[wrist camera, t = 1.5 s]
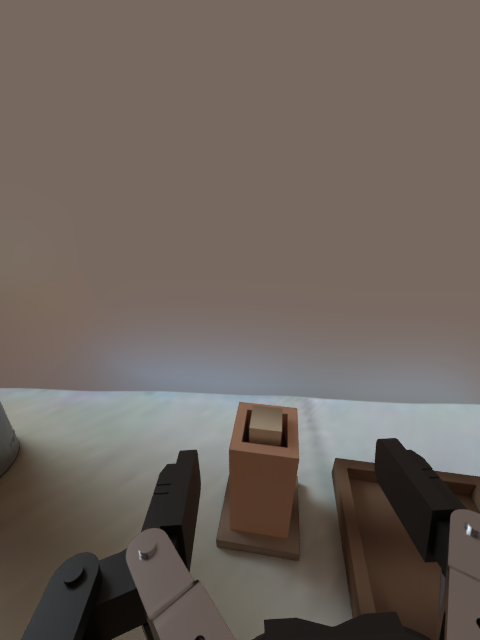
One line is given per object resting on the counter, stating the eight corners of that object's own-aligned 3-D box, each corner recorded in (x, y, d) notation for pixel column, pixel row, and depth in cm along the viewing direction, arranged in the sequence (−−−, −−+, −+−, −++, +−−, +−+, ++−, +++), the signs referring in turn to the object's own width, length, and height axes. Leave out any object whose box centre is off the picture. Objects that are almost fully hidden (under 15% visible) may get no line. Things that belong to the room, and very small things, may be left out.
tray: (604, 718, 17) (628, 705, 16) (359, 665, 19) (367, 651, 18) (472, 492, 30) (481, 476, 29) (331, 473, 32) (335, 457, 31)
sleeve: (287, 538, 25) (299, 458, 21) (229, 529, 26) (229, 449, 21) (287, 483, 29) (297, 408, 25) (238, 476, 30) (239, 401, 26)
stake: (298, 560, 24) (316, 463, 19) (216, 546, 25) (211, 449, 20) (296, 482, 31) (309, 392, 25) (230, 473, 32) (229, 384, 26)
